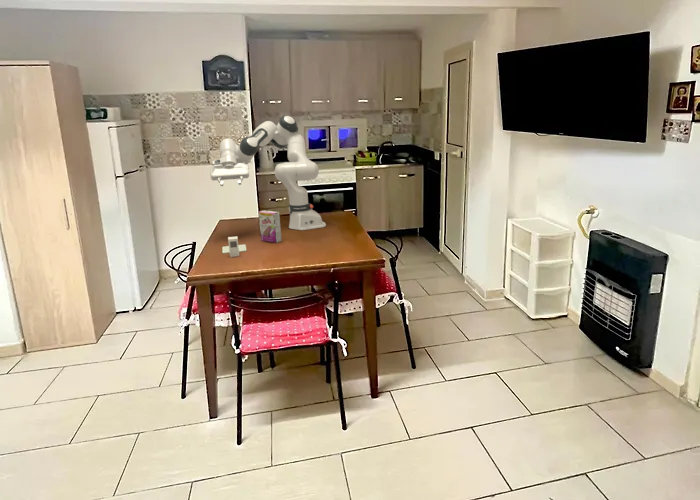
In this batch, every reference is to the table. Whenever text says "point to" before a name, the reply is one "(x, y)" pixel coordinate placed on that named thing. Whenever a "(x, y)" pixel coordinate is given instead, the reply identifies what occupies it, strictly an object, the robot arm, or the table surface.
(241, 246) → the board
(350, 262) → the table surface
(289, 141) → the robot arm
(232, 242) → the white device with screen
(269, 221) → the candy bar box
